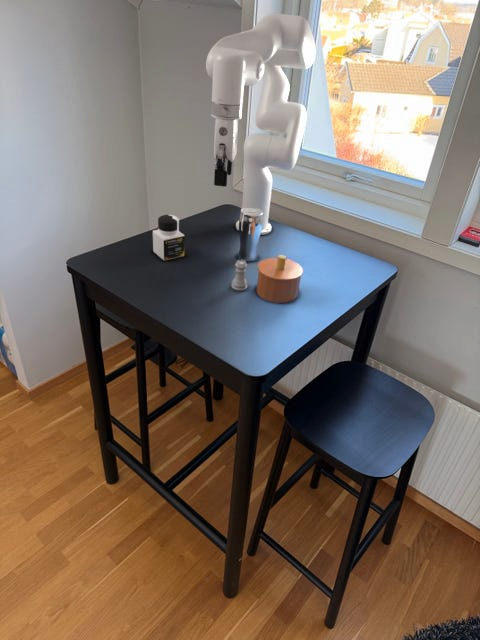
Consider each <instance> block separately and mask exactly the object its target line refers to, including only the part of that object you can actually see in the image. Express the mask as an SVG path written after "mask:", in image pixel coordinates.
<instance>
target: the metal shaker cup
mask: <svg viewBox="0 0 480 640" xmlns="http://www.w3.org/2000/svg"><path fill="white" fill-rule="evenodd" d="M238 221H239V230H238V236H239V249H238V254H237V258H238V260H240V261H241V260H243V262H244V261H246V263H247V262H255V261H256V260H258V245H259V241H260V237H261V236H262V235H261V230H262V221H263V212H262V210H260V209H257V208H252V207H247V208H243V209H242V208H241V209H240V214H239V219H238Z"/></svg>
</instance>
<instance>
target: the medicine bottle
mask: <svg viewBox="0 0 480 640" xmlns="http://www.w3.org/2000/svg"><path fill="white" fill-rule="evenodd" d="M185 238H186V237H185V234H184V233H182V232H181V231H180V219H179V217H178V216H176V215H173V214H162V215H160V216H159V217H158V218H157V229H154V230H152V251H153V253H154V254H155V255H157V257H159V258H160V259H161V260H163V261H164V262H165V261H170V260H173V259H177V258H182V257H185V242H186V241H185Z"/></svg>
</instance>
